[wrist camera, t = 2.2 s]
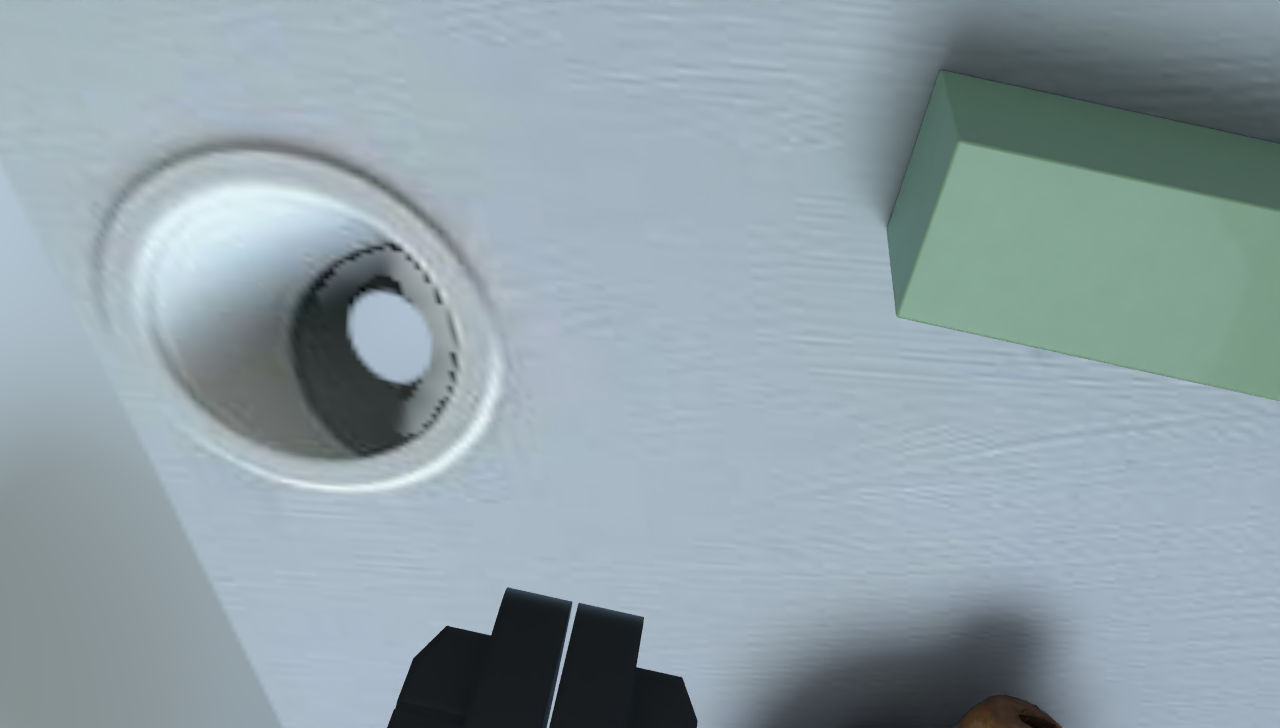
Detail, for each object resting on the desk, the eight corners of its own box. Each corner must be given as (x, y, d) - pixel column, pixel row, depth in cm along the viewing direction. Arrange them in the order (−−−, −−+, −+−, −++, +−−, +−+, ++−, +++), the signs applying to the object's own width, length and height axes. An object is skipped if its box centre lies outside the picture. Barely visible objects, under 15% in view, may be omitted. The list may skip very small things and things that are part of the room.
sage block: (939, 68, 26) (958, 139, 22) (1395, 168, 25) (1483, 254, 22) (885, 231, 28) (894, 318, 24) (1305, 323, 28) (1371, 423, 24)
